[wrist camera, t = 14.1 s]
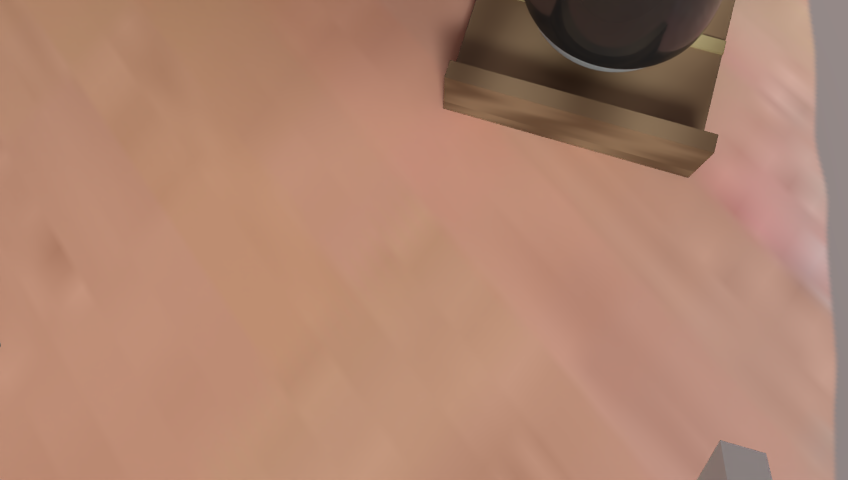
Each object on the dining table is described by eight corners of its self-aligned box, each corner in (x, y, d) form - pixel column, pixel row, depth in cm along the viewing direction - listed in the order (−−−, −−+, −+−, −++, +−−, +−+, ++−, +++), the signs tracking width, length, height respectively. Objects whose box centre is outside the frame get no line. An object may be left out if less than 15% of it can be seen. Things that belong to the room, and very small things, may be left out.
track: (443, 108, 43) (444, 77, 40) (514, -114, 47) (522, -163, 43) (688, 177, 42) (714, 152, 39) (743, -55, 46) (772, -99, 42)
